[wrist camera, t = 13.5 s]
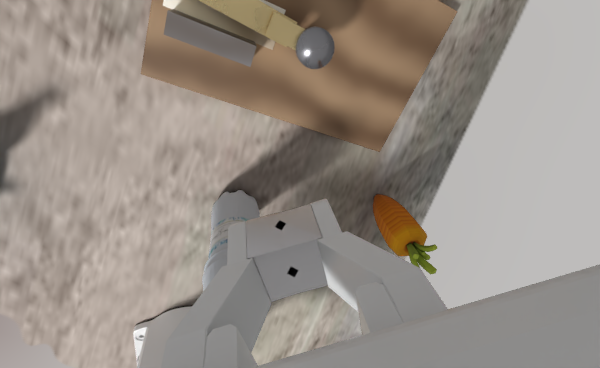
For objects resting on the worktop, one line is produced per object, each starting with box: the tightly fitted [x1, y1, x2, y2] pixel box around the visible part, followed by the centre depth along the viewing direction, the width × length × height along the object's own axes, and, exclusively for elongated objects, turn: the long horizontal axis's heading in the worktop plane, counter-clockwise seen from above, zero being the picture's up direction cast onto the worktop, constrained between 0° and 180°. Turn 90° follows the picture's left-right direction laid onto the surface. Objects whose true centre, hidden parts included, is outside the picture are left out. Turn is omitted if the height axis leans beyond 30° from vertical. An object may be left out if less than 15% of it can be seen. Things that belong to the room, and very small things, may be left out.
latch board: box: [141, 0, 457, 152], centre depth 32 cm, size 18×30×5 cm, turn 68°
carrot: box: [373, 194, 437, 274], centre depth 41 cm, size 5×5×15 cm
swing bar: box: [199, 0, 335, 69], centre depth 28 cm, size 17×4×5 cm, turn 63°
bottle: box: [202, 190, 260, 291], centre depth 35 cm, size 7×7×20 cm
